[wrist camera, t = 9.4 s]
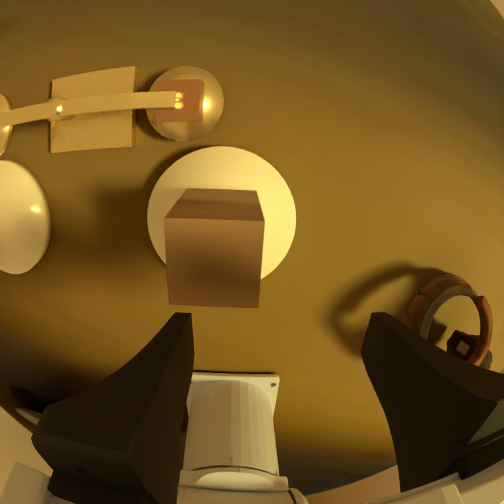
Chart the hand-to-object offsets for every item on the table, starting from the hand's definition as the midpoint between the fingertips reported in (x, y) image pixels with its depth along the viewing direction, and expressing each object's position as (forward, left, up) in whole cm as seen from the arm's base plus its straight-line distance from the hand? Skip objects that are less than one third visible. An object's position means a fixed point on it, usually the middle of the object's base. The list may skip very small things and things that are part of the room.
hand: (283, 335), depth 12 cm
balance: (+9, +11, -9) cm, 17 cm away
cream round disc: (+2, +20, -9) cm, 22 cm away
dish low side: (+2, +3, -9) cm, 10 cm away
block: (+2, +3, -8) cm, 9 cm away
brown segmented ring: (-6, -15, -10) cm, 19 cm away
